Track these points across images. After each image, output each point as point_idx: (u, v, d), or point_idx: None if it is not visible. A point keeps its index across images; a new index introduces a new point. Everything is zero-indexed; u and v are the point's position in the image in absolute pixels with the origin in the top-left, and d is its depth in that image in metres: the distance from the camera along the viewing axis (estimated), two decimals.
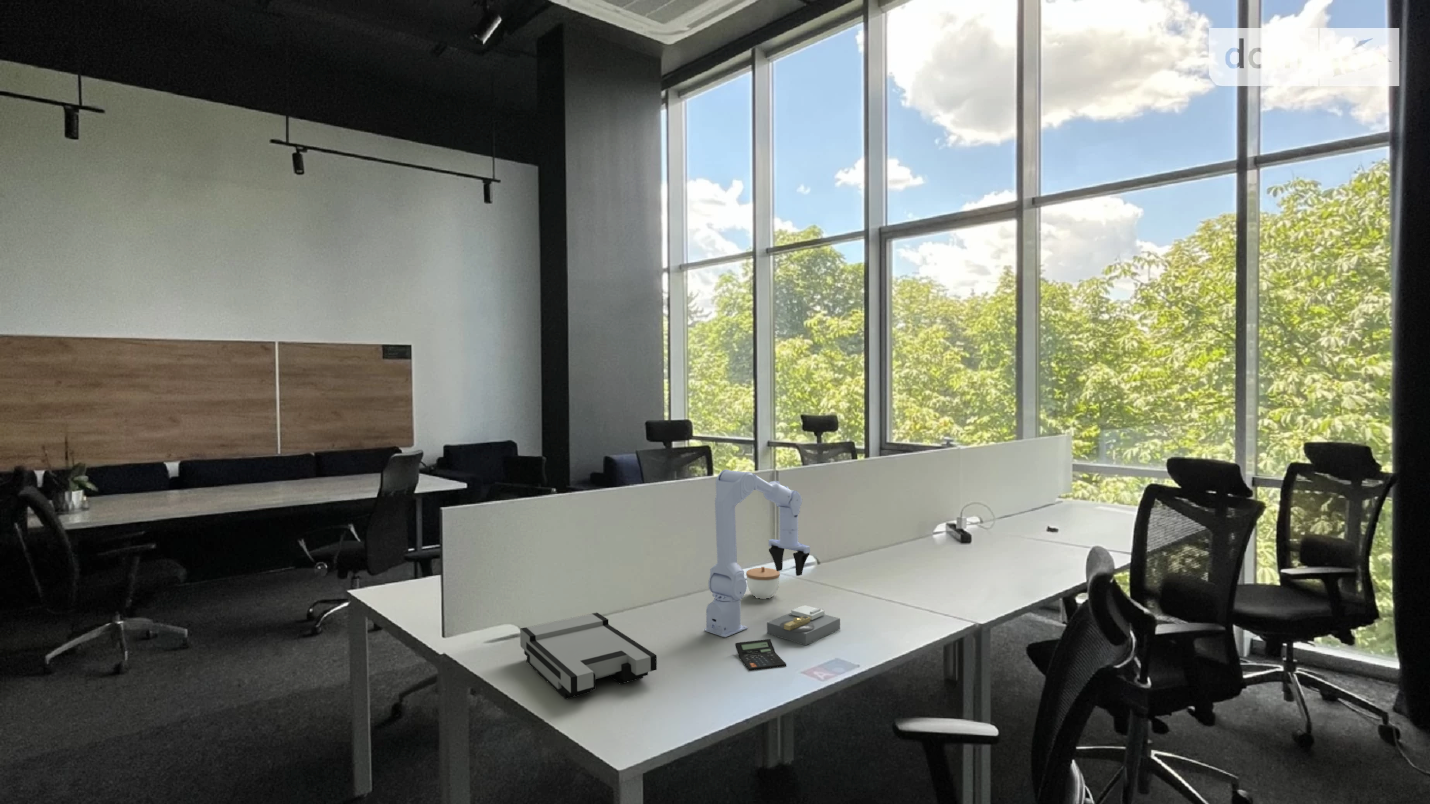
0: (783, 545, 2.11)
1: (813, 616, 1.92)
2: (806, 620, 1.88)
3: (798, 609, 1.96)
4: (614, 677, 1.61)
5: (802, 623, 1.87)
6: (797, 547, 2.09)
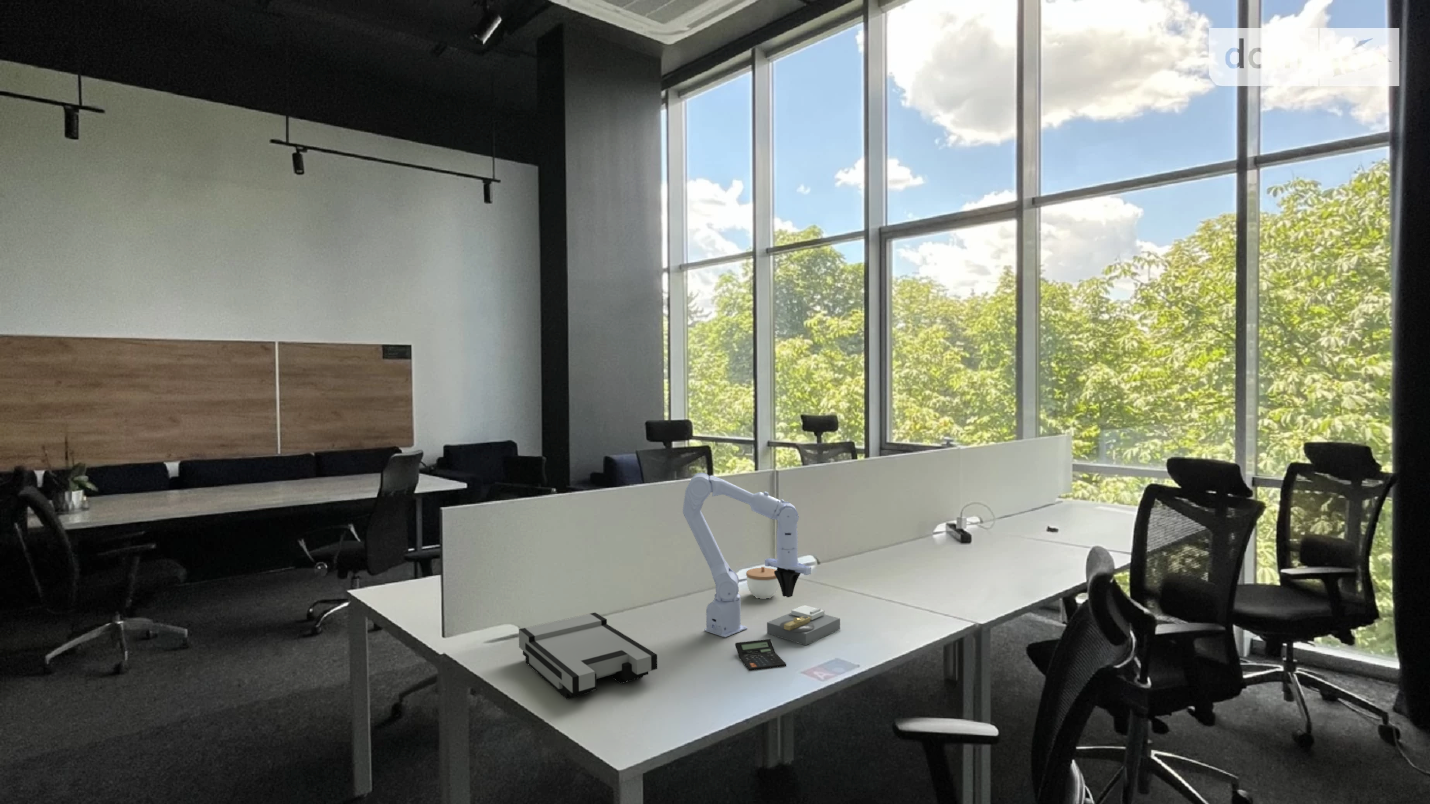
0: (781, 566, 1.90)
1: (813, 616, 1.92)
2: (806, 620, 1.88)
3: (798, 609, 1.96)
4: (614, 677, 1.62)
5: (802, 623, 1.87)
6: (796, 568, 1.88)
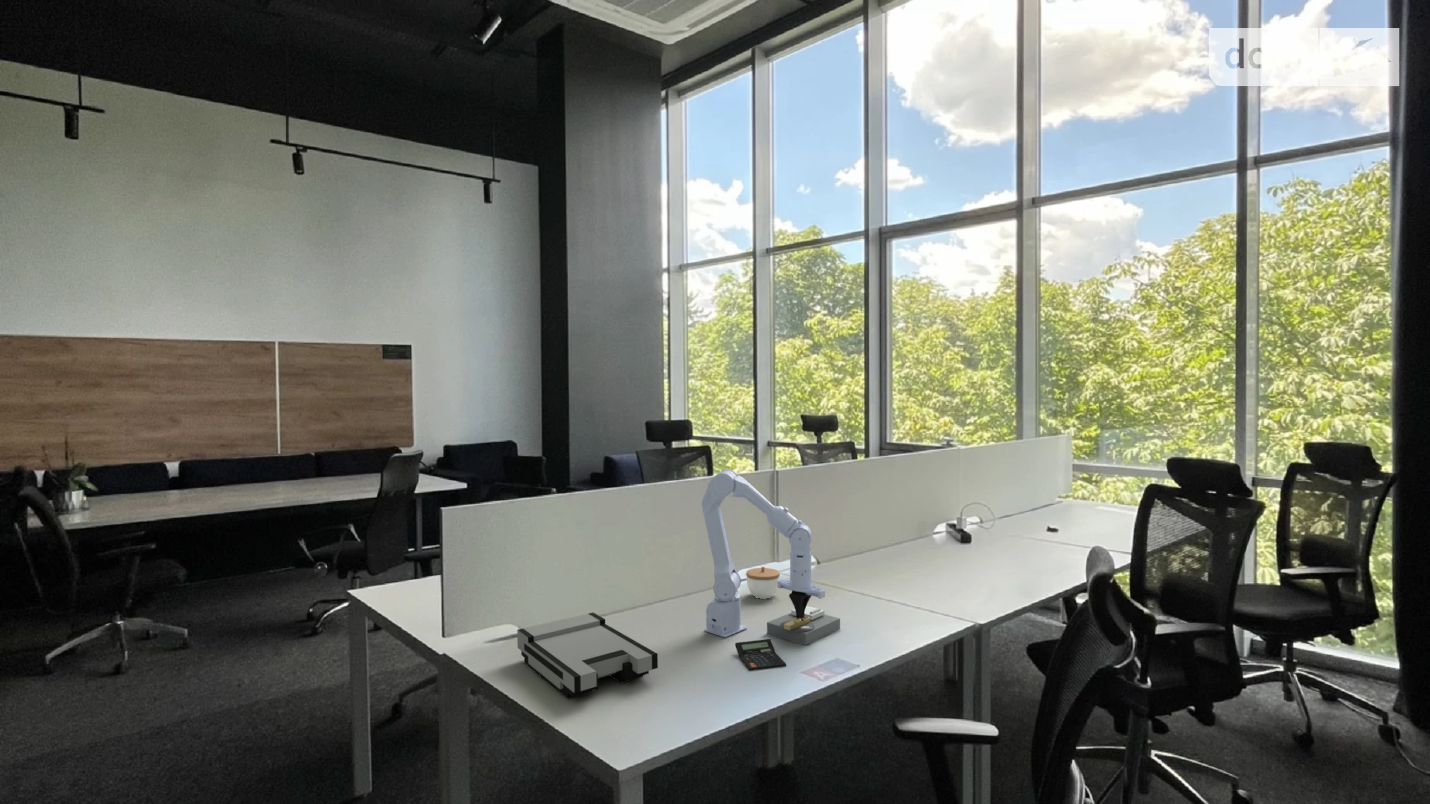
0: (794, 588, 1.87)
1: (813, 616, 1.92)
2: (806, 620, 1.88)
3: None
4: (614, 676, 1.62)
5: (802, 623, 1.87)
6: (810, 591, 1.85)
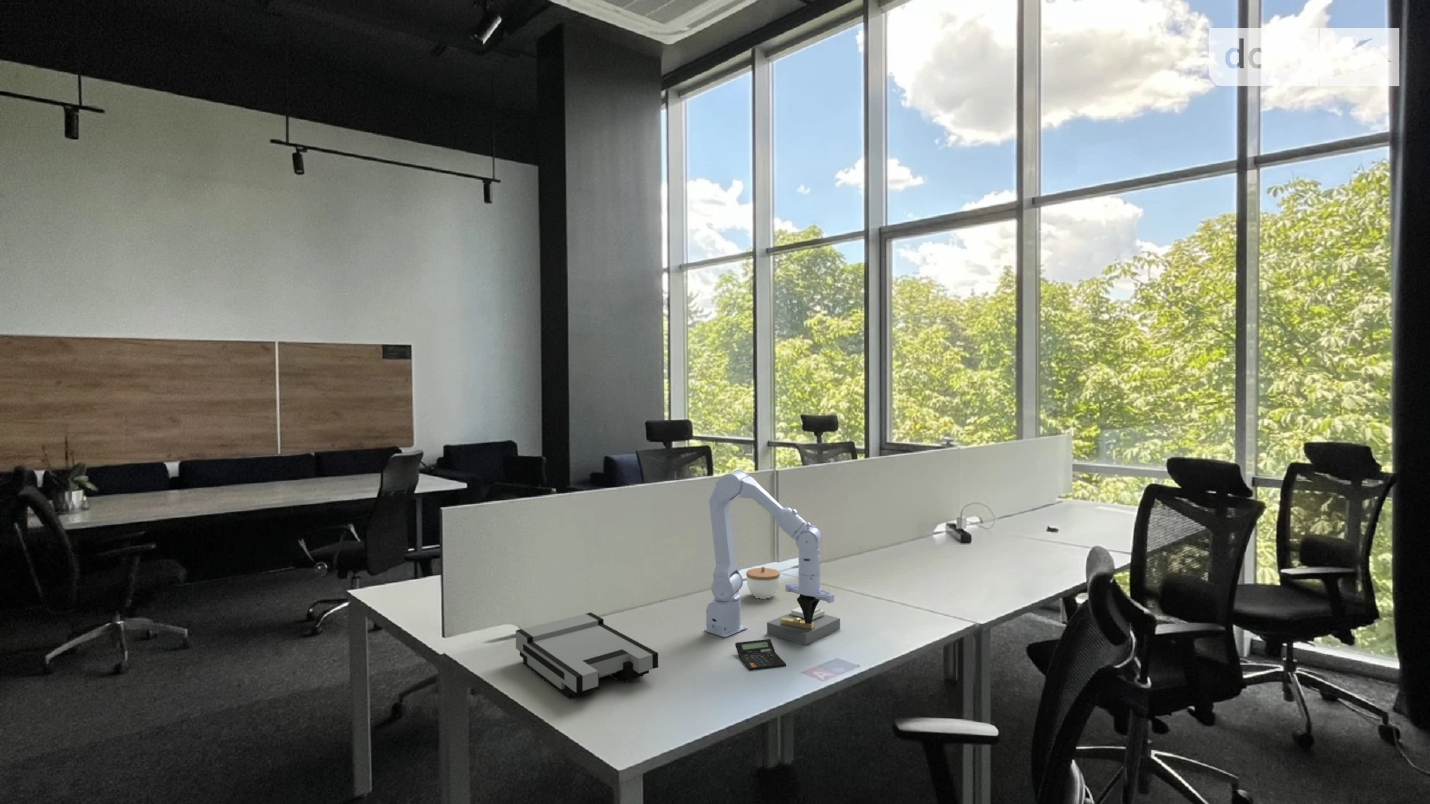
0: (803, 592, 1.83)
1: (813, 616, 1.92)
2: (805, 625, 1.85)
3: (798, 609, 1.96)
4: (615, 676, 1.62)
5: (799, 625, 1.86)
6: (819, 595, 1.81)
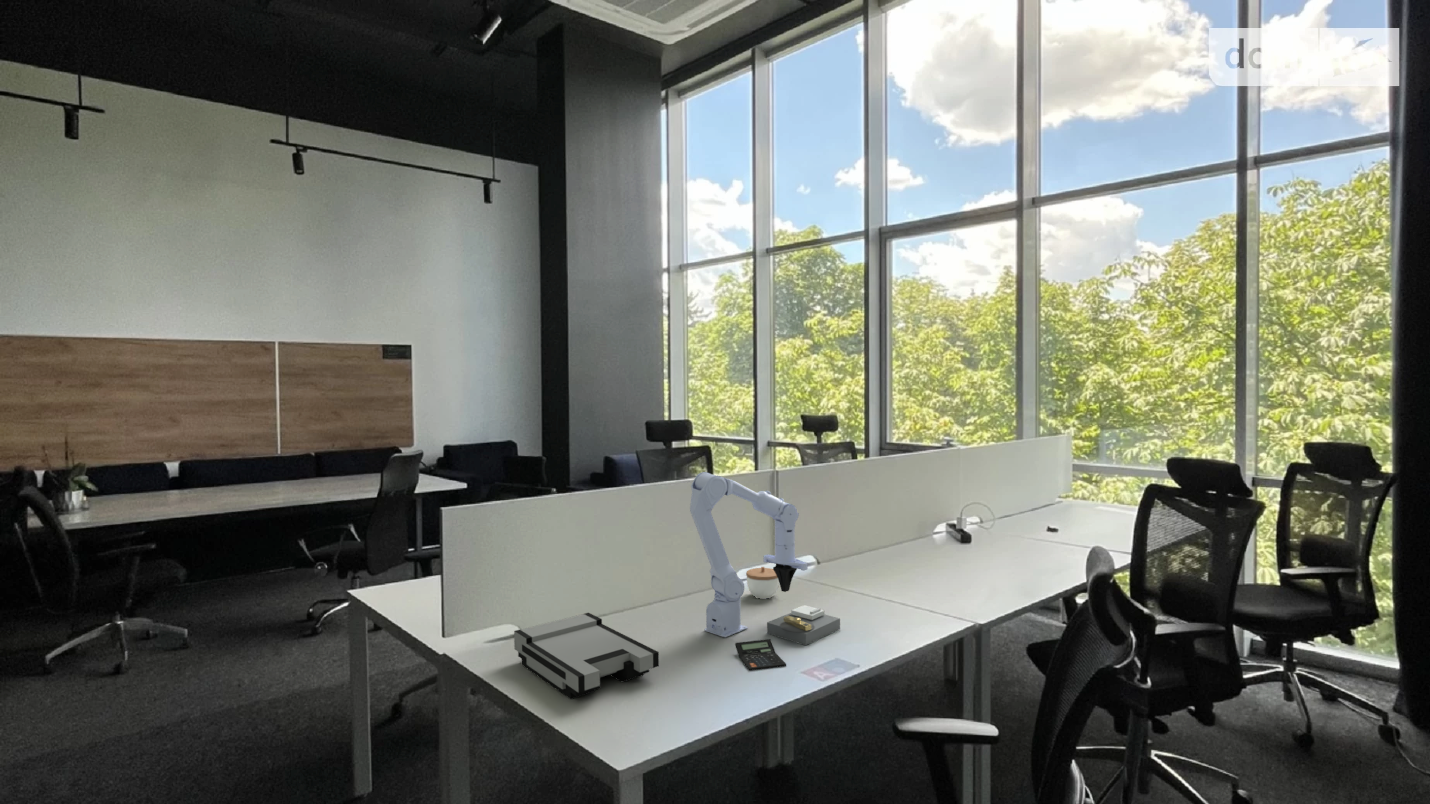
0: (779, 561, 1.98)
1: (813, 616, 1.92)
2: (801, 626, 1.84)
3: (798, 609, 1.96)
4: (615, 675, 1.62)
5: (796, 625, 1.86)
6: (794, 564, 1.96)
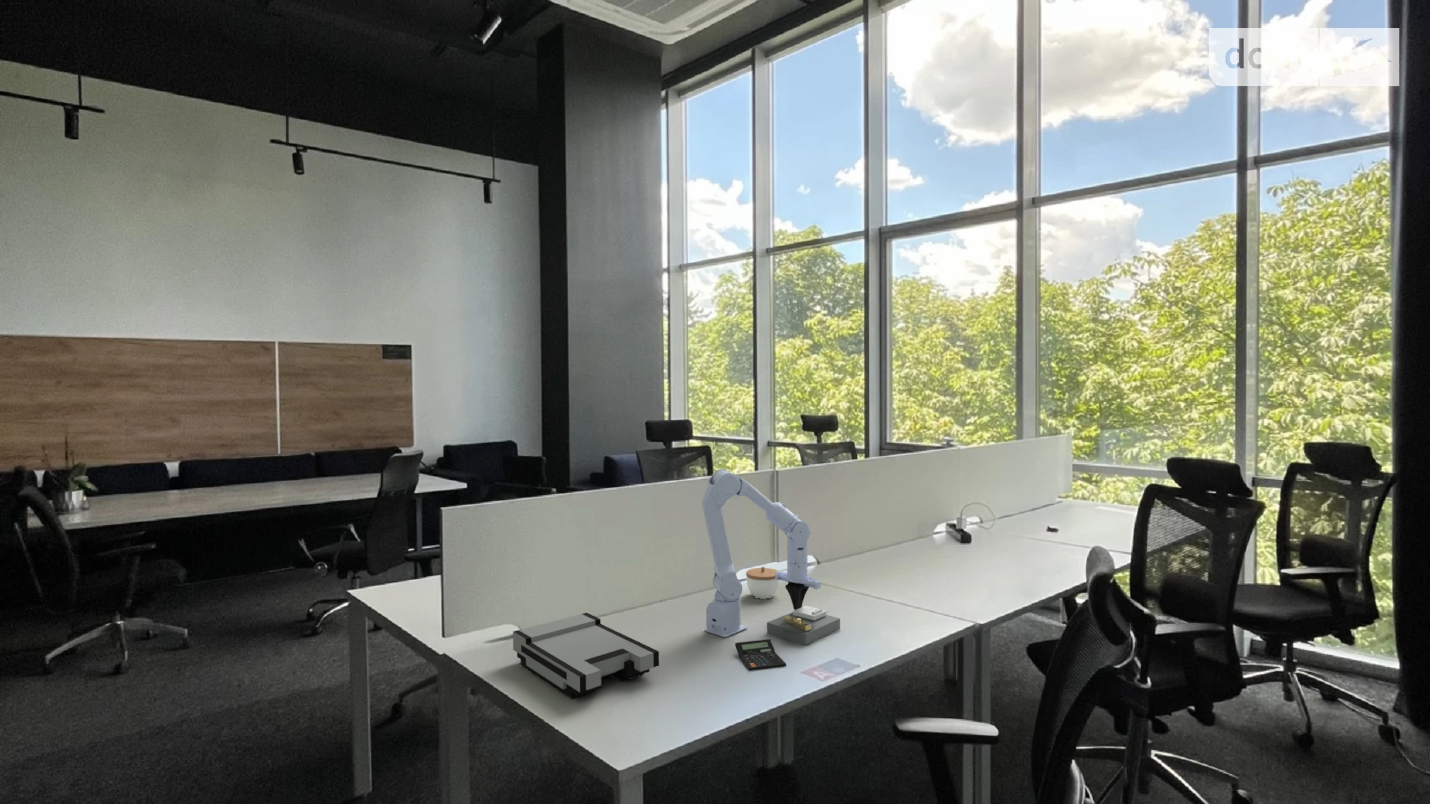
0: (791, 580, 1.96)
1: (815, 617, 1.91)
2: (801, 626, 1.84)
3: (800, 610, 1.96)
4: (615, 675, 1.62)
5: (796, 625, 1.86)
6: (806, 582, 1.94)
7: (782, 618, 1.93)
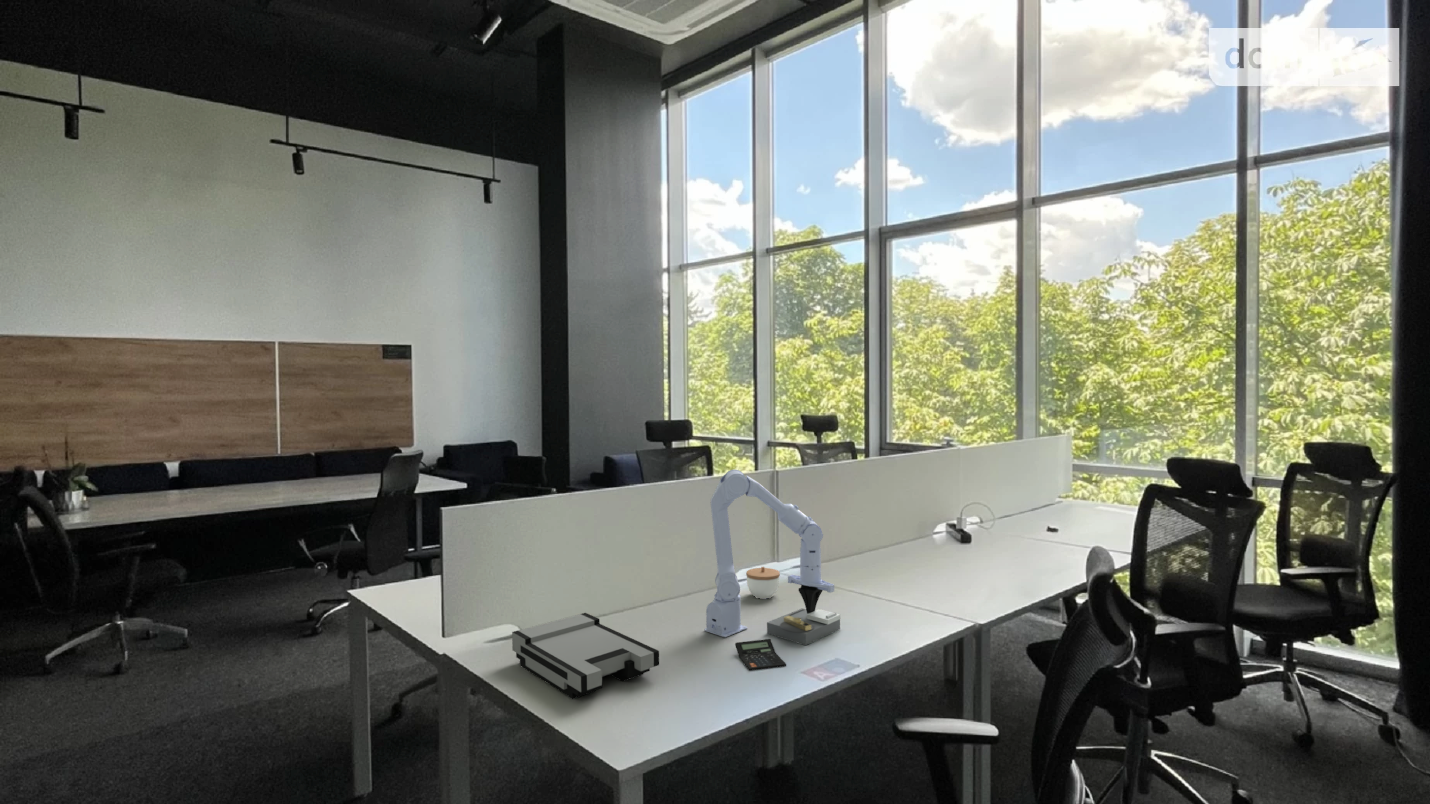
0: (805, 583, 1.92)
1: (829, 620, 1.88)
2: (801, 626, 1.84)
3: (813, 613, 1.93)
4: (615, 675, 1.63)
5: (796, 625, 1.86)
6: (820, 585, 1.90)
7: (782, 618, 1.93)
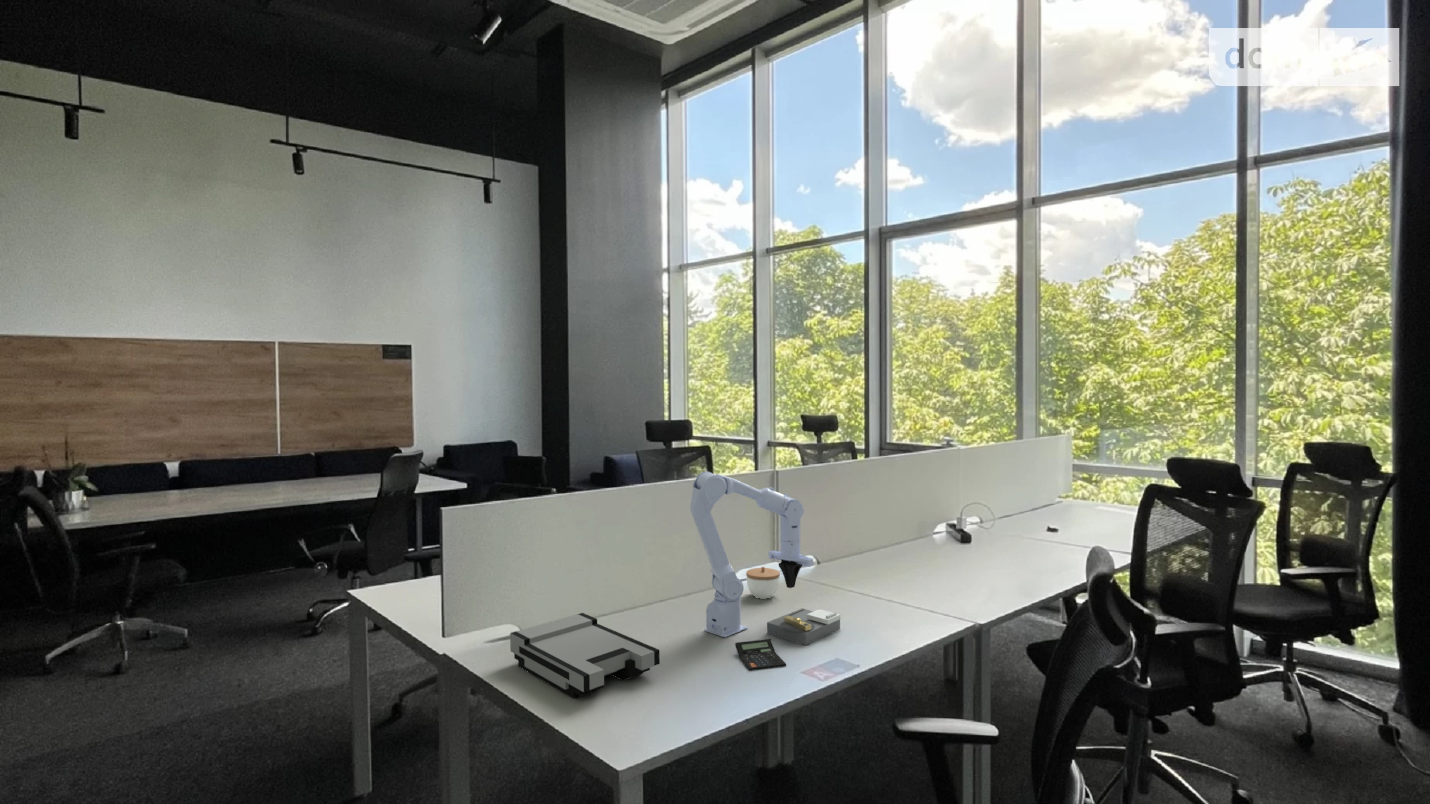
0: (784, 557, 1.97)
1: (829, 620, 1.88)
2: (801, 626, 1.84)
3: (813, 613, 1.93)
4: (615, 674, 1.63)
5: (796, 625, 1.86)
6: (799, 560, 1.95)
7: (782, 618, 1.93)
